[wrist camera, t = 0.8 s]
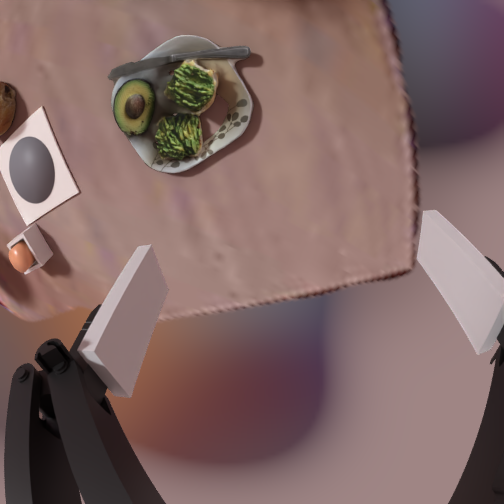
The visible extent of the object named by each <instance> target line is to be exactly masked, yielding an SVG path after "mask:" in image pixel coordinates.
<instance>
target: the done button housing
mask: <svg viewBox="0 0 504 504" xmlns="http://www.w3.org/2000/svg"><path fill="white" fill-rule="evenodd" d="M20 241H25V242H26V244H27V245H28V247H29V249H30V251H31V252H32V254H33V255H34V257H35V259H36V260H35V262H34V263H33V264H32V265H31V266H30V268H29V269H28V270H27V271H26V272H24V274H27V273H29V272H31V271H33V270H35V269H37V268H39V267H41V266H43V265H44V264H45V263H46V262H47V261H48V260H49V259H50V258H51V256H52V255H53V252H52V251H51V249H50V247H49V246H48V244H47V242H46V241H45V239H44V237H43V235H42V234H41V232H40V230H39V228H38V227H37V225H36V223H35V224H33V225H32V226H30V227H29V228H27V229H26V230H25V231H23V232H22V233H20V234H19V235H18V236H16V237H15V238H14V239H13V240H12V241H11V242H10V243H8V244H7V246H8V248H9V250H11V249H12V248H13V247H14V246H15V245H16V244H17V243H19V242H20Z"/></svg>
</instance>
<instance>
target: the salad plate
mask: <svg viewBox="0 0 504 504" xmlns="http://www.w3.org/2000/svg"><path fill="white" fill-rule="evenodd" d="M250 54H251V51H250V48H249V47H247V46H234V47H227V48H224V47H220V46H218V45H217V44H215V43H213V42H212V41H210V40H209V39H206V38H202V37H198V36H191V35H181V36H177V37H174V38H172V39H170V40H168V41H166V42H165V43H163V44H162V45H160V46H159V47H157V48H156V49H155V50H153V51H152V52H151V53H149V54H148V55H147V56H145V57H144V58H143V59H142V60H141V61H138V62H135V63H133V62H130V63H127V64H124V65H121V66H119V67H116V68H115V69H113V70H112V71H111V72H110V74H109V76H108V78H109V80H113V82H114V89H113V93H112V98H111V106H112V111H113V114H114V117H115V120H116V123H117V125H118V126H119V128H120V129H121V131H122V132H124V134H125V135H126V137H127V138H128V140H129V141H130V142H131V144H132V146H133V147H134V149H135V150H136V151H137V153H138V154H139V156H140V157H141V159H142V160H143V161H144V162H145V164H146V165H147V166H149V167H150V168H152V169H154V170H156V171H159V172H165V173H181V172H183V171H186V170H188V169H191V168H192V167H195V166H196V165H198V164H200V163H201V162H202V161H204V160H205V159H206V158H208V157H210V156H211V155H213V154H215V153H216V152H218V151H219V150H221V149H223V148H225V147H226V146H227V145H229V144H230V143H232V142H233V141H234V140H236V139H237V138H238V137H240V136H241V135H242V134H243V133H244V131H245V130H246V128H247V126H248V125H249V123H250V119H251V116H252V111H253V108H254V103H253V100H252V97H251V95H250V93H249V92H248V90H247V88H246V86H245V84H244V82H243V80H242V79H241V77H240V76H239V74H238V73H237V70H236V67H235V63H236V62H237V61H239V60H244V59H247V58H248V57H249V56H250ZM171 70H173V71H174V75H172V76H171V75H170V74H169V71H171ZM216 94H217V95H219V96H221V97H222V98H223V99H224V100H225V101H226V102H227V103H228V104H229V107H228V112H227V116H226V118H225V120H224V122H223V124H222V126H221V127H220V128H219V130H218V131H217V132H216V133H215V134H214V135H213V136H211V137H210V138H209V139H207V140H206V141H205V142H203V138H202V128H201V121H200V118H199V115H200V114H201V113H203V112H204V111H206V110H207V109H208V108H209V107H210V106H211V105H212V104H213V102H214V99H215V95H216ZM174 113H177V115H176V116H174V115H173V114H174ZM156 142H158V143H156Z"/></svg>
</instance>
